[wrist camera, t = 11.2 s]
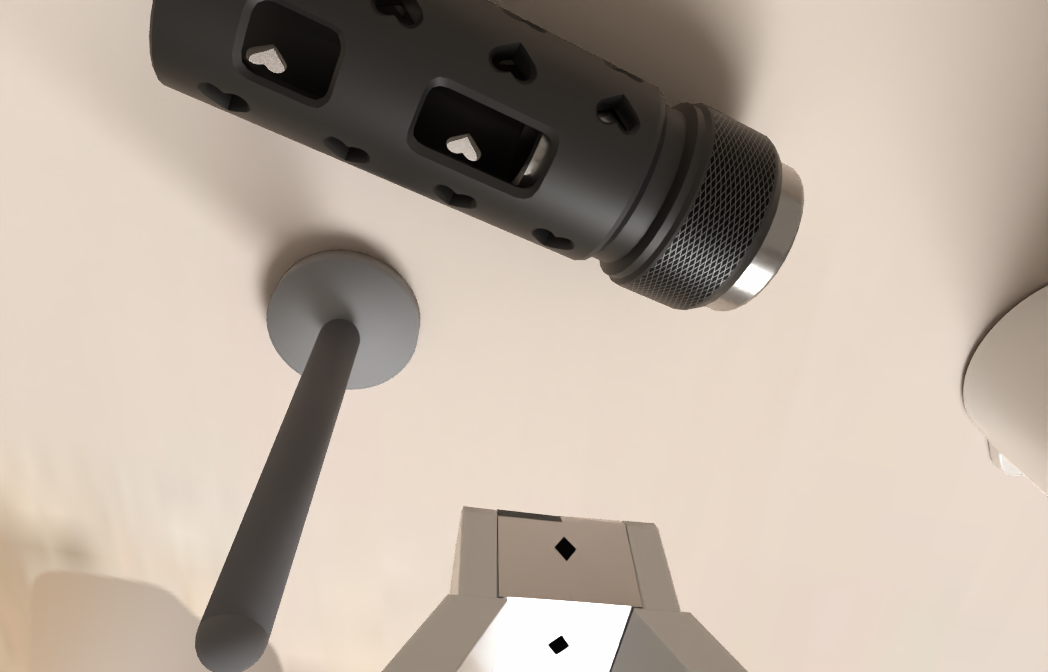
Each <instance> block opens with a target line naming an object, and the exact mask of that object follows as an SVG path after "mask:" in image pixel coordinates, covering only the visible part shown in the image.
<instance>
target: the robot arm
mask: <svg viewBox="0 0 1048 672" xmlns="http://www.w3.org/2000/svg"><path fill="white" fill-rule="evenodd" d="M963 398H964V405H965V409H966V411H967V414H968V416H969V418H970V420H971V421H972V423H973V424H974V425H975V426H976V427H977V428H978V429H979V430H980V431H981V432H982V433H983V434H984V435H985V437H986V438H987V440H988V441H989V447H990V455H991V459H992V462H993V464H994V465H995V466H996V467H997V468H998V469H1000V470H1001V471H1002V472H1003V473H1004V474H1006V475H1010V476H1018V475H1024V476H1025V477H1026V478H1027V479H1028V480H1030V481H1031V482H1032V483H1033V484H1034V485H1035V486H1036V487H1037V488H1038V489H1040V490H1041V491H1042V492H1043V493H1044V494H1045V495H1046V496H1047V497H1048V286H1046V287H1044V288H1042V289H1040V290H1039V291H1037V292H1035V293H1034V294H1032V295H1030V296H1029V297H1028V298H1026V299H1025V300H1023V301H1022V302H1020V303H1019V304H1018V305H1017V306H1015V307H1014V308H1013V309H1012V310H1010V311H1009V312H1008V313H1007V314H1006V315H1005V316H1004V317H1003V318H1002V319H1001V320H1000V321H999V322H998V323H997V324H996V325H995V326H994V327H993V328H992V329H991V330H990V332H989V333H988V334H987V335H986V337H985V338H984V339H983V341H982V342H981V344H980V345H979V347H978V348H977V350H976V352H975V353H974V355H973V357H972V359H971V362H970V364H969V366H968V369H967V372H966V376H965V380H964V388H963ZM382 672H748V671H747V670H746V669H745V668H744V667H743V666H742V665H741V664H740V663H739V662H738V661H737V660H736V659H735V658H734V657H733V656H732V655H731V654H730V653H729V652H728V651H727V650H726V649H725V648H724V647H723V646H722V645H721V644H720V643H719V642H718V641H717V640H716V638H715V637H714V636H713V635H712V634H711V633H710V632H709V631H708V630H707V629H706V628H705V627H704V626H703V625H702V624H701V623H700V622H699V621H698V620H697V619H696V618H695V617H694V616H693V615H692V614H691V613H688V612H681V611H680V607H679V603H678V600H677V596H676V592H675V589H674V585H673V581H672V578H671V574H670V570H669V567H668V563H667V559H666V555H665V552H664V548H663V544H662V541H661V537H660V533H659V530H658V528H657V527H656V525H655V524H654V523H642V522H629V521H622V522H621V521H615V520H602V519H590V518H577V517H564V516H550V515H541V514H532V513H524V512H515V511H506V510H496V511H495V510H490V509H482V508H474V507H465V506H463V509H462V511H461V518H460V524H459V531H458V537H457V543H456V550H455V556H454V564H453V572H452V580H451V588H450V594H448V595H447V596H446V597H445V598H444V600H443V601H442V602H441V603H440V604H439V605H438V607H437V608H436V609H435V610H434V611H433V612H432V614H431V615H430V616H429V617H428V618H427V619H426V621H425V622H424V623H423V624H422V625H421V626H420V628H419V629H418V630H417V631H416V632H415V633H414V635H413V636H412V637H411V638H410V639H409V640H408V642H407V643H406V644H405V645H404V646H403V647H402V649H401V650H400V651H399V652H398V653H397V654H396V656H395V657H394V658H393V659H392V660H391V661H390V663H389V664H388V665H387V666H386V667H385V668H384V670H383V671H382Z"/></svg>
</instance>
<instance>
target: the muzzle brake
mask: <svg viewBox="0 0 1048 672" xmlns="http://www.w3.org/2000/svg"><path fill="white" fill-rule="evenodd" d="M149 41H150V55H151V61H152V66H153V68H154V71H155V73H156V75H157V78H158V80H159V81H160V82H161V83H162V84H163V85H165V86H168V87H170V88H172V89H175V90H177V91H179V92H182V93H184V94H186V95H189V96H191V97H193V98H196V99H198V100H200V101H203V102H205V103H207V104H210V105H212V106H214V107H217V108H219V109H222V110H224V111H226V112H229V113H231V114H233V115H236V116H238V117H240V118H243V119H245V120H247V121H250V122H252V123H254V124H257V125H259V126H261V127H264V128H266V129H268V130H271V131H273V132H275V133H278V134H280V135H282V136H285V137H287V138H289V139H292V140H294V141H297V142H299V143H301V144H304V145H306V146H308V147H311V148H313V149H315V150H318V151H320V152H322V153H325V154H327V155H329V156H332V157H334V158H336V159H339V160H341V161H343V162H346V163H348V164H350V165H353V166H355V167H357V168H360V169H362V170H364V171H367V172H369V173H372V174H374V175H376V176H379V177H381V178H383V179H386V180H388V181H390V182H393V183H395V184H397V185H400V186H402V187H404V188H407V189H409V190H411V191H414V192H416V193H418V194H421V195H423V196H425V197H428V198H430V199H432V200H435V201H437V202H439V203H442V204H444V205H447V206H449V207H451V208H454V209H456V210H458V211H461V212H463V213H465V214H468V215H470V216H472V217H475V218H477V219H479V220H482V221H484V222H486V223H489V224H491V225H493V226H496V227H498V228H500V229H503V230H505V231H507V232H510V233H512V234H515V235H517V236H519V237H522V238H524V239H526V240H529V241H531V242H533V243H536V244H538V245H540V246H543V247H545V248H547V249H550V250H552V251H554V252H557V253H559V254H561V255H564V256H566V257H568V258H571V259H573V260H586V259H588V258H590V257H594V258H596V259H599V261H600V266H601V268H602V270H603V272H604V273H606V274H607V275H609V277H610V279H611V280H612V281H613V282H615V283H616V284H618V285H619V286H622V287H624V288H626V289H629V290H631V291H633V292H636V293H638V294H640V295H643V296H645V297H648V298H650V299H652V300H655V301H657V302H659V303H662V304H664V305H666V306H669V307H671V308H673V309H681V310H688V309H693V308H698V307H703V306H706V307H708V308H711V309H713V310H715V311H729V310H733V309H736V308H738V307H740V306H742V305H744V304H746V303H747V302H749V301H750V300H751V299H753V298H754V297H756V296H757V295H758V294H759V293H760V292H761V291H762V290H763V289H764V288H765V287H766V286H767V285H768V283H769V282H770V281H771V280H772V278H773V277H774V276H775V275H776V273H777V272H778V270H779V269H780V267H781V265H782V264H783V262H784V261H785V259H786V257H787V255H788V253H789V251H790V249H791V247H792V245H793V242H794V240H795V237H796V234H797V232H798V229H799V225H800V221H801V217H802V213H803V204H804V191H803V185H802V182H801V179H800V177H799V175H798V174H797V173H796V171H795V170H794V169H793V168H791V167H789V166H787V165H785V164H783V163H781V161H780V158H779V155H778V153H777V150H776V148H775V146H774V145H773V143H772V142H771V141H770V139H769V138H768V137H767V136H765V135H763V134H761V133H759V132H757V131H755V130H753V129H751V128H750V127H748V126H746V125H744V124H742V123H740V122H738V121H736V120H734V119H732V118H730V117H728V116H726V115H724V114H722V113H720V112H718V111H716V110H715V109H713V108H711V107H709V106H707V105H704V104H702V103H697V104H690V103H681V104H679V105H677V106H675V107H673V108H672V107H670V106H668V105H666V104H665V101H664V97H663V95H662V93H661V92H660V90H659V89H658V88H657V87H655V86H653V85H652V84H650V83H648V82H646V81H644V80H642V79H640V78H638V77H636V76H634V75H632V74H630V73H628V72H626V71H624V70H622V69H619V68H617V67H616V66H614V65H613V64H611V63H609V62H607V61H605V60H603V59H601V58H599V57H597V56H595V55H593V54H591V53H589V52H587V51H585V50H583V49H581V48H579V47H577V46H575V45H573V44H572V43H570V42H568V41H566V40H564V39H562V38H560V37H558V36H556V35H554V34H552V33H550V32H548V31H546V30H544V29H542V28H540V27H538V26H536V25H534V24H532V23H530V22H529V21H526V20H523V19H521V18H520V17H519V16H517V15H515V14H513V13H511V12H509V11H507V10H505V9H503V8H501V7H499V6H497V5H495V4H493V3H491V2H489V1H488V0H153V4H152V10H151V18H150V32H149ZM273 48H274V49H275V51H276V53H277V55H278V57H279V59H280V60H281V62H282V64H283V65H284V68H285V71H284V72H282V73H273V72H271V71H270V70H268V68H267V67H266V66H265V65H264V64H263V65H257V64H253V63H251V62H250V61H249V57H250V55H252V54H255V53H259V52H263V51H267V50H270V49H273ZM465 137H468V138H469V141H470V143H471V145H472V147H473V148H474V150H475V152H476V154H477V160H476V161H470V160H468V159H467V158H466V157H465V156H464V155H463V153H459V154H456V153H453V152H451V151H449V150H448V148H447V144H448V143H449V142H451V141H455V140H458V139H462V138H465Z"/></svg>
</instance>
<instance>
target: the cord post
mask: <svg viewBox="0 0 1048 672" xmlns="http://www.w3.org/2000/svg"><path fill="white" fill-rule="evenodd" d="M267 328H268V332H269V336H270V339H271V341H272V343H273V346H274V347H275V349H276V351H277V352H278V354H279V355H280V356H281V358H282V359H283V360H284V361H285V362H286V363H287V364H288V365H289V366H290V367H291V368H292V369H294V370H295V371H296V372H297V373H299V374H300V375H302V376H301V378H300V381H299V383H298V386H297V388H296V391H295V393H294V395H293V398H292V400H291V403H290V405H289V408H288V410H287V413H286V415H285V417H284V420H283V422H282V425H281V427H280V430H279V432H278V434H277V437H276V439H275V442H274V444H273V447H272V449H271V452H270V454H269V456H268V459H267V461H266V464H265V466H264V469H263V471H262V473H261V476H260V478H259V481H258V483H257V486H256V488H255V491H254V493H253V495H252V498H251V500H250V503H249V505H248V508H247V510H246V512H245V515H244V517H243V520H242V522H241V525H240V527H239V530H238V532H237V534H236V537H235V539H234V542H233V544H232V547H231V549H230V552H229V554H228V556H227V559H226V561H225V564H224V566H223V569H222V571H221V573H220V576H219V578H218V581H217V583H216V586H215V588H214V591H213V593H212V595H211V598H210V600H209V603H208V605H207V608H206V610H205V612H204V615H203V617H202V620H201V622H200V625H199V627H198V630H197V633H196V640H195V648H196V652H197V656H198V658H199V659H200V661H201V663H202V664H203V665H204V666H205V667H206V668H207V669H209V670H210V671H212V672H242V671H244V670H246V669H248V668H249V667H251V666H252V665H254V664H255V663H256V662H257V661H258V659H259V658H260V657H261V656H262V654H263V653H264V650H265V648H266V646H267V644H268V641H269V637H270V634H271V631H272V628H273V624H274V621H275V618H276V615H277V611H278V608H279V605H280V602H281V598H282V595H283V592H284V588H285V585H286V582H287V579H288V575H289V572H290V569H291V566H292V562H293V559H294V556H295V553H296V549H297V546H298V543H299V540H300V536H301V533H302V530H303V527H304V523H305V520H306V517H307V514H308V510H309V507H310V504H311V501H312V497H313V494H314V491H315V488H316V484H317V481H318V478H319V475H320V471H321V468H322V465H323V462H324V458H325V455H326V452H327V448H328V445H329V442H330V439H331V435H332V432H333V429H334V426H335V422H336V419H337V416H338V413H339V409H340V406H341V403H342V400H343V396H344V393H345V390H346V389H350V390H352V389H363V388H369V387H373V386H376V385H379V384H381V383H384V382H386V381H388V380H389V379H391V378H393V377H394V376H395V375H397V374H398V373H399V372H400V371H401V370H402V369H403V368H404V367H405V366H406V365H407V364H408V362H409V361H410V359H411V357H412V355H413V353H414V351H415V348H416V345H417V339H418V334H419V328H420V312H419V307H418V303H417V300H416V298H415V295H414V293H413V291H412V290H411V288H410V286H409V285H408V283H407V282H406V281H405V280H404V279H403V277H402V276H401V275H400V274H399V273H397V272H396V271H395V270H394V269H393V268H391V267H390V266H389V265H387V264H386V263H384V262H382V261H380V260H379V259H376V258H374V257H372V256H369V255H366V254H363V253H360V252H354V251H347V250H330V251H324V252H319V253H316V254H313V255H310V256H308V257H306V258H304V259H302V260H300V261H299V262H297V263H296V264H294V265H293V266H292V267H291V268H290V269H289V270H288V271H287V272H286V273H285V274H284V275H283V277H282V278H281V280H280V282H279V284H278V285H277V287H276V289H275V291H274V292H273V294H272V296H271V299H270V301H269V304H268V309H267Z"/></svg>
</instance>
